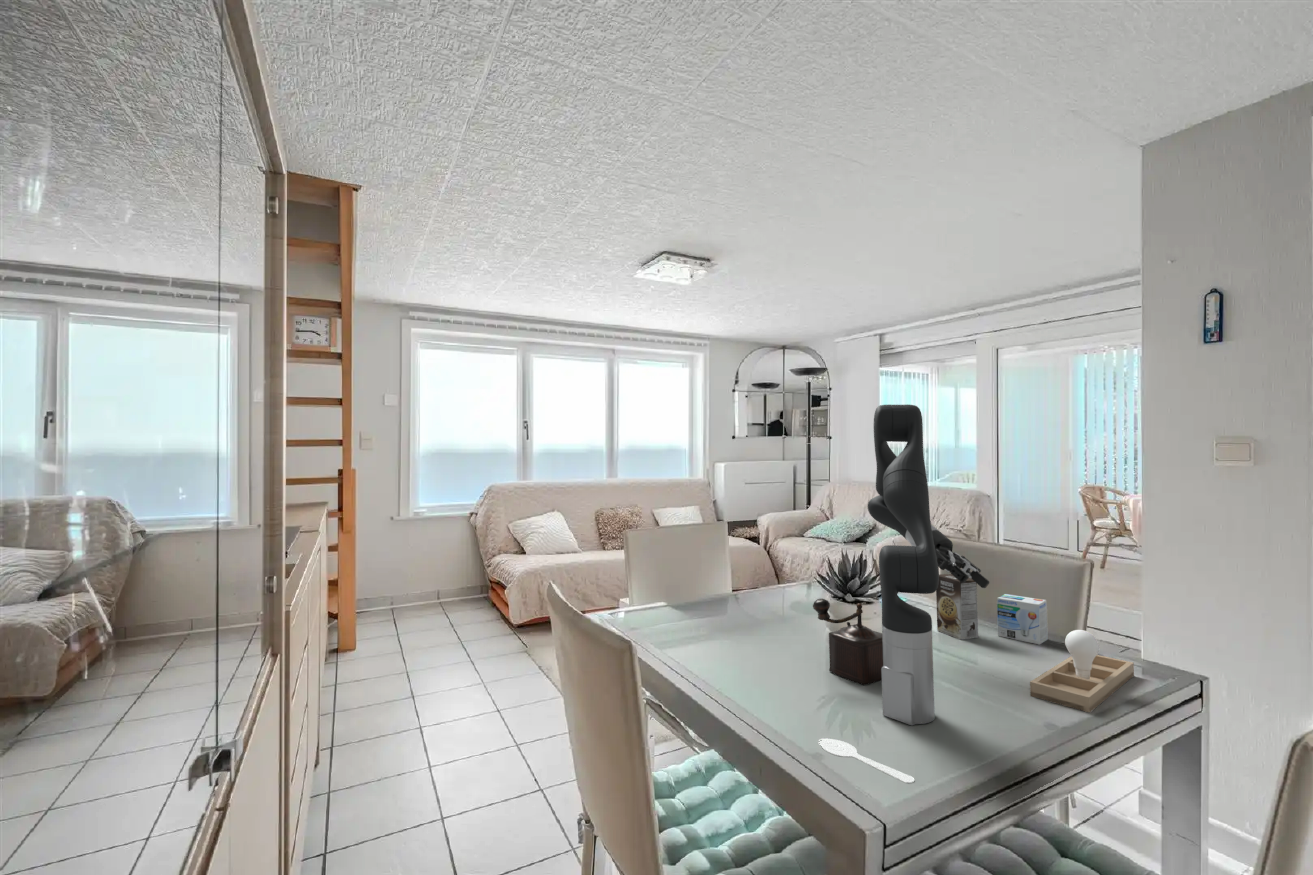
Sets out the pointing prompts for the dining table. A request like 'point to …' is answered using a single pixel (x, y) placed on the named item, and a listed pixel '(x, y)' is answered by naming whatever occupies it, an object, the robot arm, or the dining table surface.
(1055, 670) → the wooden compartment tray
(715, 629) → the dining table surface
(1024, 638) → the light bulb box
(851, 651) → the manual coffee grinder
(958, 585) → the cookie box
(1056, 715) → the dining table surface
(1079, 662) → the lightbulb
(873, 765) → the spoon
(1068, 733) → the dining table surface
